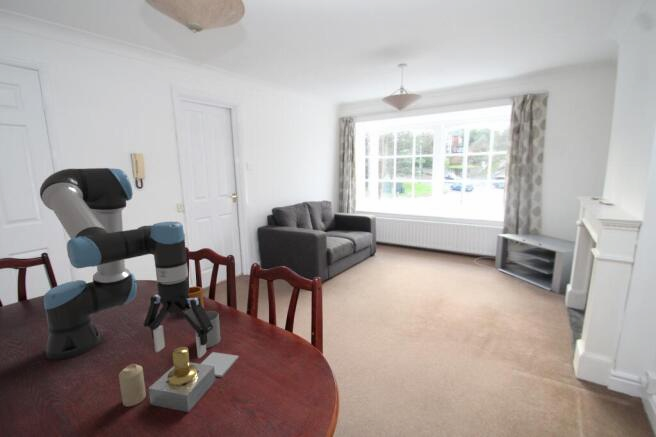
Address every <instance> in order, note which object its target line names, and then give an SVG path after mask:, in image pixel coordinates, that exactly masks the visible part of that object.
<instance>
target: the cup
mask: <svg viewBox="0 0 656 437" xmlns="http://www.w3.org/2000/svg"><path fill="white" fill-rule="evenodd" d="M205 312H206V314H207V316H208V318H209V320H210V322H211V324H212V326H213V329H212V330H211V331H209V332H208V333H207V343H206V349H208V348H213V347H215V346H217V345H218V344H219V343H220V342H221V330H220V317H219V316H220V313H218V312H217V311H214V310H212V311H211V310H208V311H205ZM201 329H202V328H201ZM197 334H198V333H197V332H196V331H195V330H194V335H195V336H194V337H195V338H196V335H197ZM195 346H197V344H196V343H195Z"/></svg>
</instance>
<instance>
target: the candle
mask: <svg viewBox="0 0 656 437" xmlns="http://www.w3.org/2000/svg"><path fill="white" fill-rule="evenodd" d="M144 377H145V376H144V369H143V366H141V365H139V364H135V362H134V363H130V364H129V365H128V366H126V367H125V368H123V369H122V370H121V371H119V374H118V380H119V381H118V382H119V386H120V387H119V388H120V393H121V394H120V396H121V401H122V405H123V406H124V407H128V408H129V407H133V406H136V405H138V404H140V403H142V402H143V401H144V400H145V399H146V396H147V395H146V394H147V393H146V392H147V391H146V384H145V378H144Z"/></svg>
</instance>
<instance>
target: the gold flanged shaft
mask: <svg viewBox="0 0 656 437" xmlns="http://www.w3.org/2000/svg"><path fill="white" fill-rule="evenodd" d="M171 354H172V362H173V366H174V369H173V370H172V371H171V372H170V373H169V374H168V383H169V384H170V385H172V386H181V385H183V386H185V385H186V384H187V383H189V382H191V381H192V380H194V379H195V378H196V376H197V367H196V366H195V365H192V364H190V363H191V362H190V356H189V355H190V353H189V347H187V346H180V347H177V348H175V349H174V350H173V351H172V352H171ZM189 362H190V363H189Z"/></svg>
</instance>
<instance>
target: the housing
mask: <svg viewBox="0 0 656 437" xmlns="http://www.w3.org/2000/svg"><path fill="white" fill-rule="evenodd" d="M189 363H190V364H192V365H195V366H196V367H197V376H196V378H195V379H194V380H192V381H191V382H189V383H187V384H186V385H185V386H183V385H181V386H172V385H170V384H169V383H168V374H169V373H170V372H171V371H172V370H173V369H174V365H172V367H170V369H168V370H167V371H166V372H165V373H164V374H163V375H161V377H159V378H158V379H157V380H156V381H155V382H154V383H152V384H151V385H150V386H149V387H148V395H149V403H150V405H151V406H154V407H161V408H166V409H172V410H176V411H181V412H186V413H189V412H190V411H191V410H192V409H193V408H194V407H195V405H196V404H197V403H198V402H199V401H200V400H201V398H202V397H203V396H204V395H205V394H206V393H207V391H208V390H209V389H210V388H211V386H213V384H214V383H215V382H216V376H215V371H214V366H210V365H203V364H201V363H196V362H191V361H189Z"/></svg>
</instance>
